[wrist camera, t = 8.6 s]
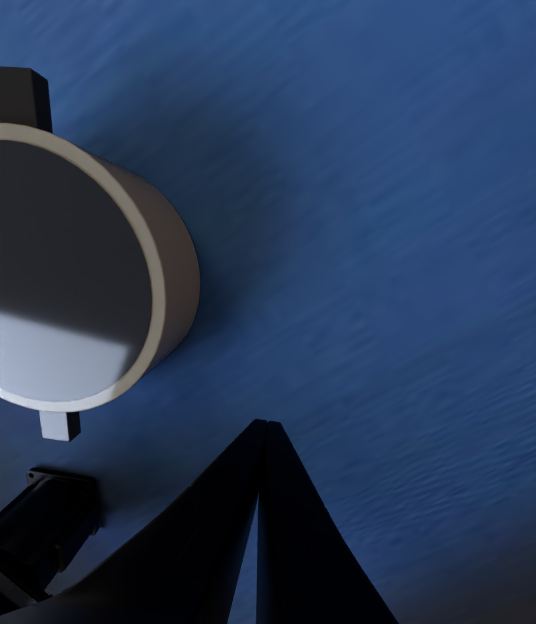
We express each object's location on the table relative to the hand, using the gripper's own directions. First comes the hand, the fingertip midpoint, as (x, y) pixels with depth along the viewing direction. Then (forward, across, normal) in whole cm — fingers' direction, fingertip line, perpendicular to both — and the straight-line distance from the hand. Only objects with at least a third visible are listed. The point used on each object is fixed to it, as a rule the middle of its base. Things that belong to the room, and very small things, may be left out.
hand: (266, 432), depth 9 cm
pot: (+12, +14, -2) cm, 18 cm away
